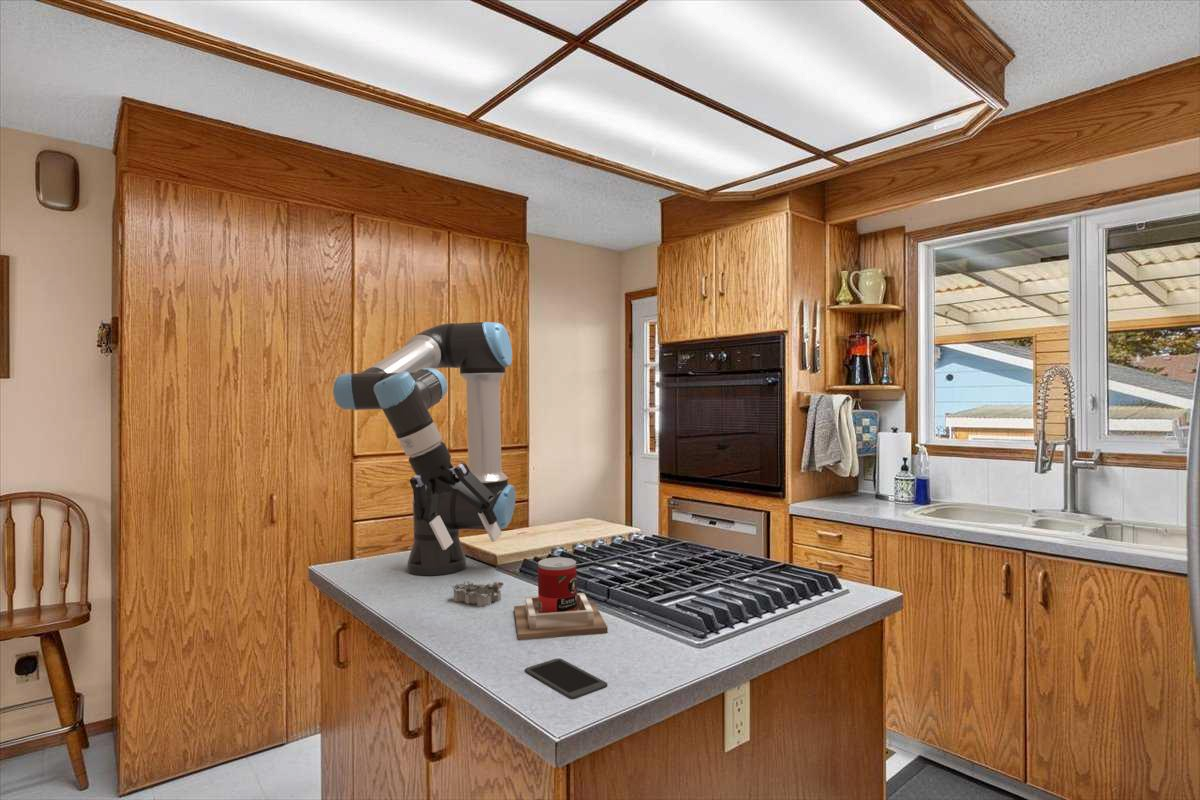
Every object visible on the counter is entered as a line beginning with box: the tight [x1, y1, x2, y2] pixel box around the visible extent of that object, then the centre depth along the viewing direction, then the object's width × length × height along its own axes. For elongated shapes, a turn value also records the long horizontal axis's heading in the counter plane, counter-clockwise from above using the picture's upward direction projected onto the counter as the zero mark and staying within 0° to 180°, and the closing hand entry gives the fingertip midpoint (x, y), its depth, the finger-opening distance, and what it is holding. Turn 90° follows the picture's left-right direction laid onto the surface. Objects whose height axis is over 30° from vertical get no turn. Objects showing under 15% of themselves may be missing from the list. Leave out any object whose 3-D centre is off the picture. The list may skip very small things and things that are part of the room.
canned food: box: [537, 556, 578, 613], centre depth 135 cm, size 8×8×11 cm
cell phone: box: [524, 657, 608, 700], centre depth 108 cm, size 7×14×1 cm, turn 38°
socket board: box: [513, 592, 609, 641], centre depth 135 cm, size 17×17×4 cm
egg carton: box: [450, 581, 504, 607], centre depth 150 cm, size 11×8×4 cm
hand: (472, 542), depth 134 cm, fingers open, 13 cm apart
